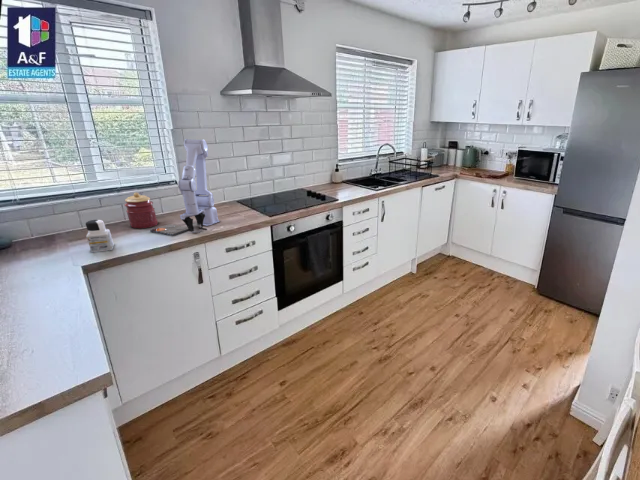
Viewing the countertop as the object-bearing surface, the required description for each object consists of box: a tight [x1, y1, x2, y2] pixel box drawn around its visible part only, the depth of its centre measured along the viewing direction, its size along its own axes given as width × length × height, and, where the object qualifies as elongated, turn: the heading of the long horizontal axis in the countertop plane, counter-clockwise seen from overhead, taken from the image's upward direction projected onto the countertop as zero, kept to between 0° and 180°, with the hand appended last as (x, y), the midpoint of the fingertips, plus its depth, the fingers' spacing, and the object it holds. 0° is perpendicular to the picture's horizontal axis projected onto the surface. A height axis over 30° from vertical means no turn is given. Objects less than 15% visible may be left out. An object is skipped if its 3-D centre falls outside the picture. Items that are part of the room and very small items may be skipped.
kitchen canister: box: [124, 191, 159, 229], centre depth 196 cm, size 13×13×18 cm
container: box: [85, 219, 115, 253], centre depth 165 cm, size 8×8×13 cm
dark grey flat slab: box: [150, 223, 190, 237], centre depth 193 cm, size 12×15×1 cm
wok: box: [190, 222, 208, 234], centre depth 192 cm, size 6×10×4 cm, turn 70°
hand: (196, 229), depth 192 cm, fingers closed on wok, 6 cm apart
